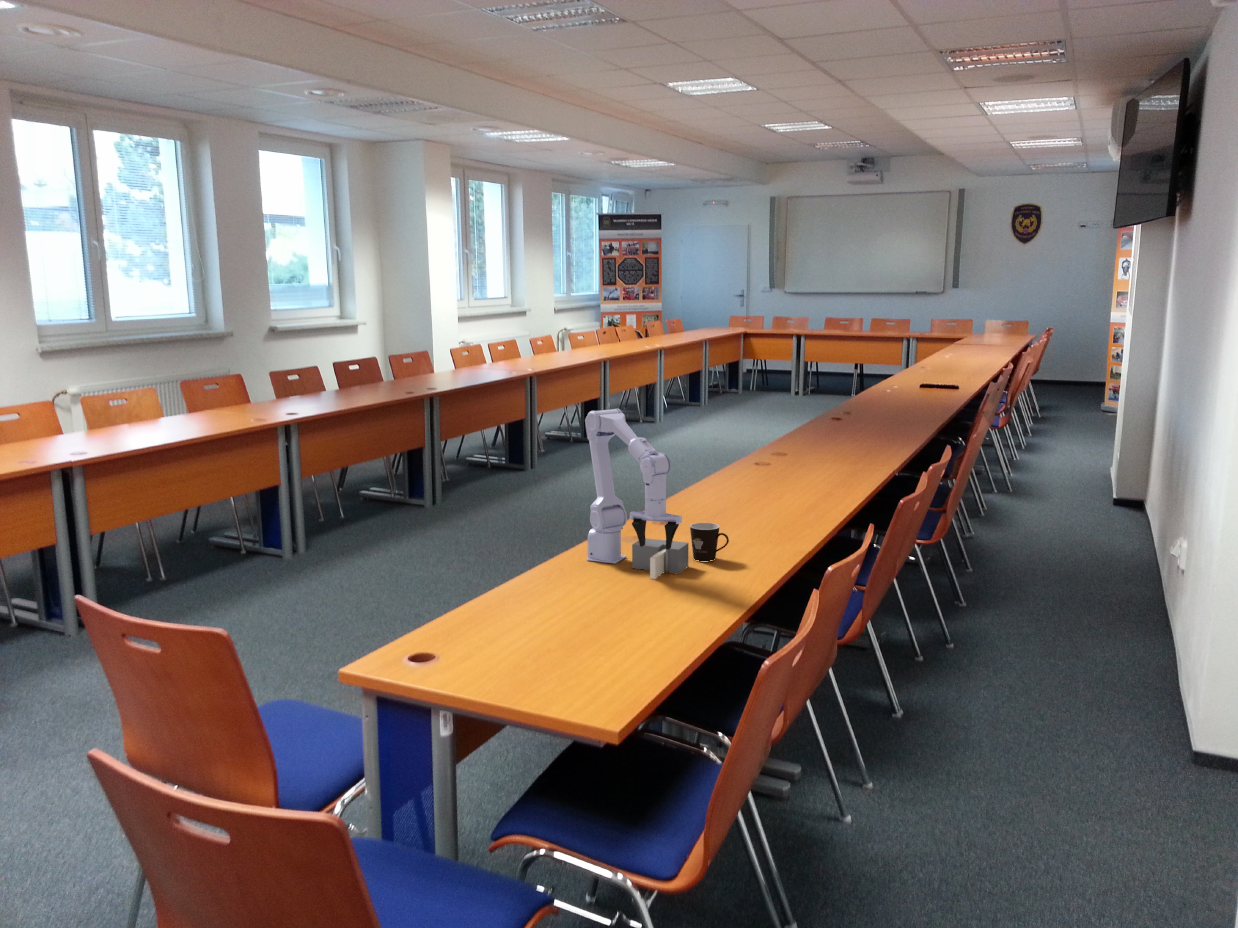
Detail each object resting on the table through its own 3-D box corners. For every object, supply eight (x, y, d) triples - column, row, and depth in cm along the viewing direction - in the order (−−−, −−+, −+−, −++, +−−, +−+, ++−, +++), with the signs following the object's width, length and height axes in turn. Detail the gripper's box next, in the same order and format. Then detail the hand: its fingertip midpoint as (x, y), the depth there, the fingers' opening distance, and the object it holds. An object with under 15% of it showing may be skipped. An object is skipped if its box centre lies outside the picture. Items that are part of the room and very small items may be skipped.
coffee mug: (684, 557, 274) (684, 524, 273) (708, 553, 278) (709, 521, 276) (705, 567, 264) (705, 533, 262) (730, 563, 268) (731, 529, 266)
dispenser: (631, 569, 263) (631, 545, 262) (642, 561, 271) (642, 537, 270) (677, 574, 257) (678, 550, 256) (688, 566, 265) (688, 542, 264)
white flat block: (650, 579, 254) (650, 557, 253) (663, 569, 263) (663, 548, 262) (655, 579, 253) (655, 558, 252) (668, 569, 262) (668, 549, 261)
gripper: (625, 499, 251) (625, 547, 253) (675, 503, 245) (675, 553, 247) (635, 494, 257) (635, 541, 260) (684, 498, 251) (684, 546, 254)
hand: (655, 547), depth 254 cm, fingers open, 7 cm apart
